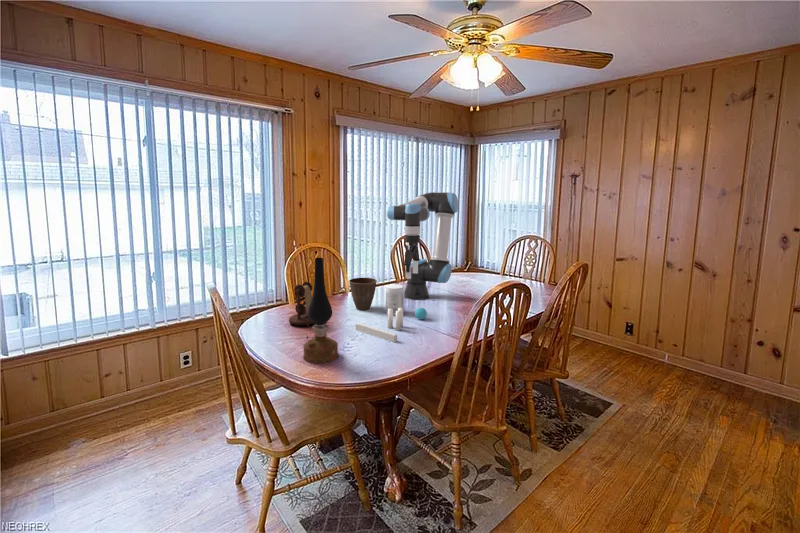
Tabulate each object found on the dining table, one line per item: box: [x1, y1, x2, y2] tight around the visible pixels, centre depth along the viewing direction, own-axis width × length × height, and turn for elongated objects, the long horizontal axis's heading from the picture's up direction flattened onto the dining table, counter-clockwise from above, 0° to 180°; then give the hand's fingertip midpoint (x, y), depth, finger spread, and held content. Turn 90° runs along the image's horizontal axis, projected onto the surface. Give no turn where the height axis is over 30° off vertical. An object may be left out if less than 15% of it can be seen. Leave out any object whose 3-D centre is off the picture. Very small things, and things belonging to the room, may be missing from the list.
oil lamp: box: [302, 257, 339, 364], centre depth 163 cm, size 14×15×40 cm
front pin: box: [398, 308, 404, 328], centre depth 200 cm, size 2×2×9 cm
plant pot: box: [348, 277, 377, 311], centre depth 229 cm, size 15×15×16 cm
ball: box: [414, 307, 428, 320], centre depth 213 cm, size 6×6×6 cm
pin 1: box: [387, 309, 394, 329], centre depth 199 cm, size 2×2×9 cm
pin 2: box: [395, 311, 402, 331], centre depth 196 cm, size 2×2×9 cm
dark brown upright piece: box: [288, 281, 314, 328], centre depth 203 cm, size 15×15×20 cm
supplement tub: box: [385, 284, 405, 316], centre depth 222 cm, size 10×10×15 cm
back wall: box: [355, 322, 398, 343], centre depth 188 cm, size 2×24×3 cm, turn 49°
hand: (411, 275), depth 214 cm, fingers open, 13 cm apart
